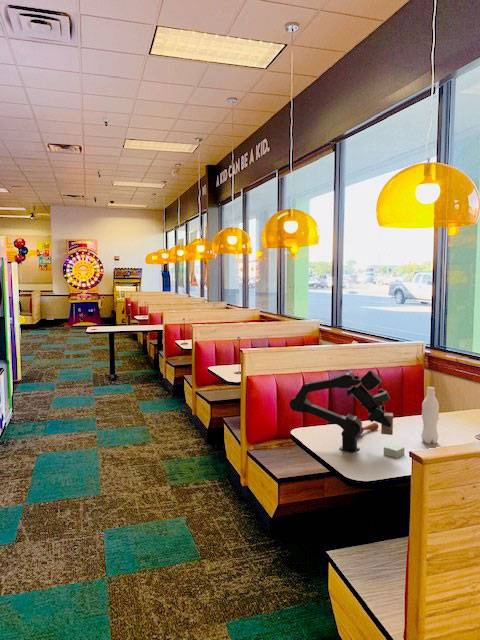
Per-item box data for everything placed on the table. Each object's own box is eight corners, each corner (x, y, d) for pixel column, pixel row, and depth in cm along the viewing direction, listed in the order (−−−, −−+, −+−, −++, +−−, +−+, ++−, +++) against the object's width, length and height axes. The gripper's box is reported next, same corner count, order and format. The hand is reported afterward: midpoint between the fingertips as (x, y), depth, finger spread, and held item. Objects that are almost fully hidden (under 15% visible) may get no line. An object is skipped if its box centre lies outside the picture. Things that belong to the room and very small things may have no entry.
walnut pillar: (381, 433, 202) (381, 415, 201) (381, 430, 206) (381, 412, 205) (392, 435, 200) (392, 416, 199) (392, 431, 204) (393, 413, 204)
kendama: (382, 422, 234) (357, 428, 220) (379, 434, 235) (355, 440, 221) (371, 417, 238) (347, 423, 225) (369, 429, 239) (344, 435, 226)
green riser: (396, 457, 199) (396, 450, 198) (383, 454, 203) (383, 447, 203) (404, 454, 203) (404, 447, 202) (391, 450, 207) (391, 443, 207)
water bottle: (439, 441, 218) (441, 386, 216) (436, 445, 212) (437, 390, 210) (423, 438, 222) (424, 384, 220) (419, 442, 216) (420, 388, 214)
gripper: (377, 389, 193) (405, 419, 191) (379, 380, 211) (405, 406, 209) (356, 407, 197) (384, 436, 194) (360, 396, 214) (385, 422, 212)
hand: (390, 424), depth 202 cm, fingers closed on walnut pillar, 4 cm apart
